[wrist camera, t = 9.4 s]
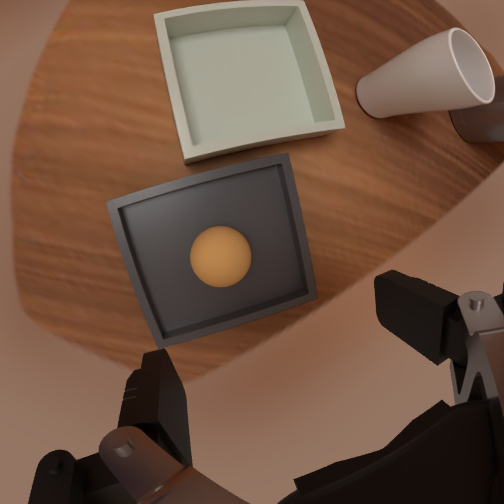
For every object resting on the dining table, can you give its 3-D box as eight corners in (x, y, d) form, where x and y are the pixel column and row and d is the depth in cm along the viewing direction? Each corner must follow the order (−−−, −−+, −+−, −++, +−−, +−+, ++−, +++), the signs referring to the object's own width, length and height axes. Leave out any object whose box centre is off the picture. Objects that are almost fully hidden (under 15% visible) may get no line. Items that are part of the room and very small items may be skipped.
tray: (279, 155, 27) (288, 152, 24) (307, 290, 30) (317, 298, 28) (112, 200, 24) (106, 202, 22) (159, 336, 28) (158, 348, 25)
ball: (237, 215, 26) (249, 222, 21) (250, 267, 27) (264, 285, 23) (182, 231, 25) (182, 241, 21) (198, 283, 27) (201, 304, 22)
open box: (286, 23, 24) (303, 0, 19) (320, 136, 27) (345, 127, 23) (156, 39, 22) (153, 14, 17) (184, 164, 25) (184, 159, 20)
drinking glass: (375, 136, 29) (484, 119, 14) (337, 88, 27) (437, 40, 12) (403, 106, 29) (502, 84, 14) (369, 62, 27) (462, 18, 12)
